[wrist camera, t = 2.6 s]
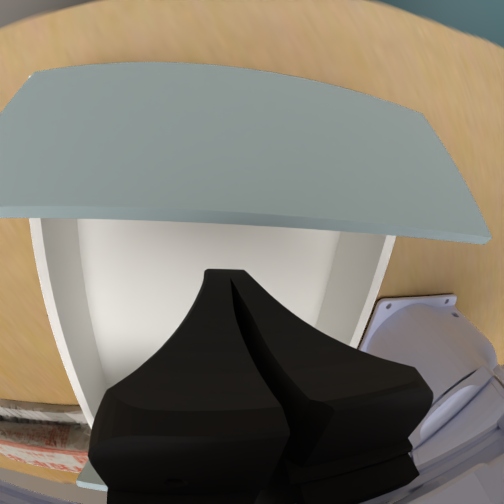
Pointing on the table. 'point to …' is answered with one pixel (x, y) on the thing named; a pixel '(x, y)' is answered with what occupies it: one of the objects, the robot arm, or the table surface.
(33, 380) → the table surface
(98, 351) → the carton
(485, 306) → the table surface
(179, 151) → the near flap
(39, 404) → the packaged product
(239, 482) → the robot arm
